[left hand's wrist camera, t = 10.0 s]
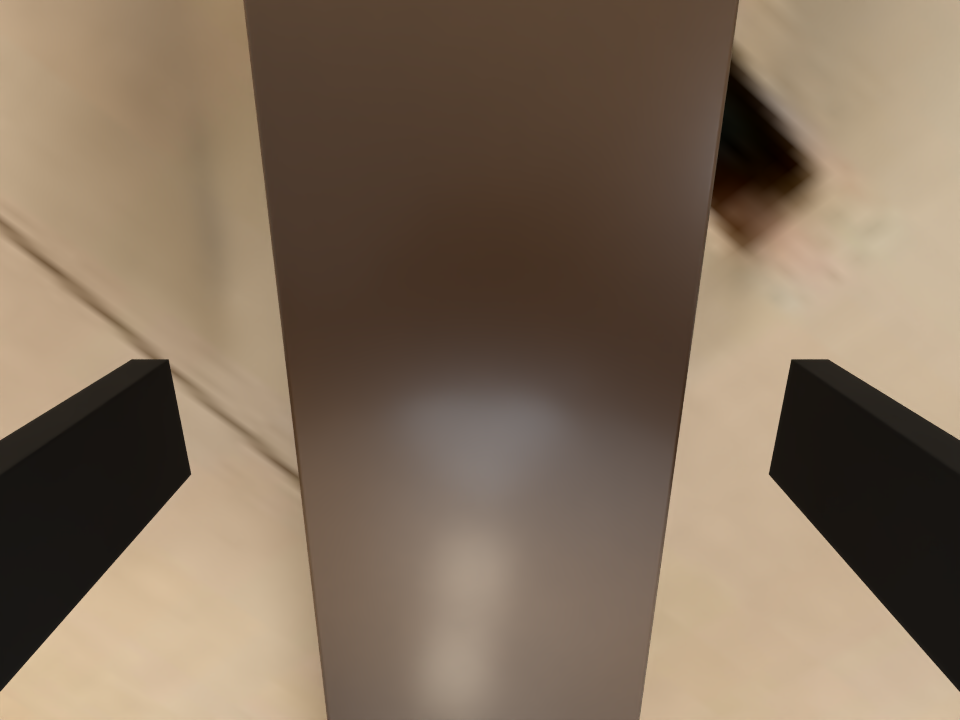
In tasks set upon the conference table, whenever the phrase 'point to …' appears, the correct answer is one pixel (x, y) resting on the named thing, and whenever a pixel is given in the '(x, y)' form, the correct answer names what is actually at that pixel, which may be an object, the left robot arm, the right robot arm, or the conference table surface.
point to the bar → (487, 332)
